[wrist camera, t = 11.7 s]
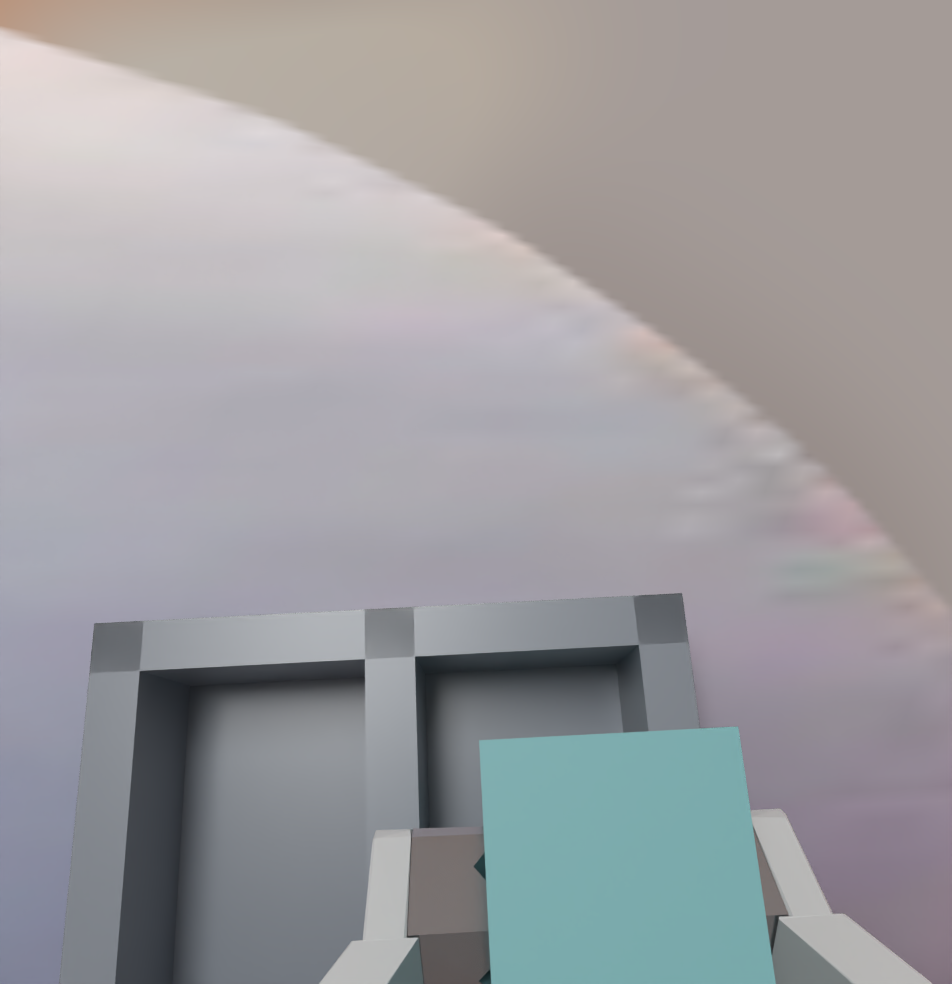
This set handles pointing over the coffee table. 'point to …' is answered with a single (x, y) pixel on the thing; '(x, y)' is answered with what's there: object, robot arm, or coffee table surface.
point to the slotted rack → (319, 764)
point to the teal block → (622, 860)
